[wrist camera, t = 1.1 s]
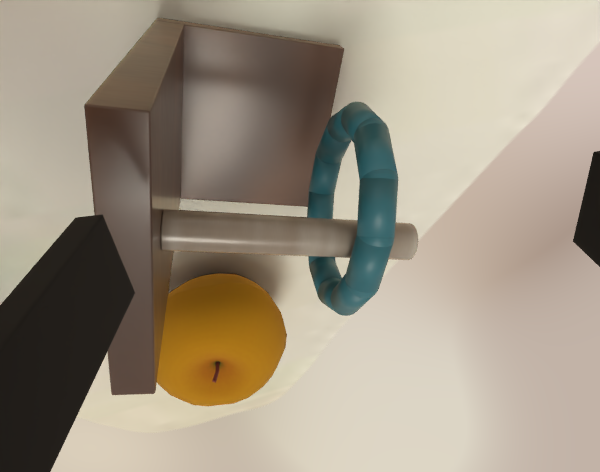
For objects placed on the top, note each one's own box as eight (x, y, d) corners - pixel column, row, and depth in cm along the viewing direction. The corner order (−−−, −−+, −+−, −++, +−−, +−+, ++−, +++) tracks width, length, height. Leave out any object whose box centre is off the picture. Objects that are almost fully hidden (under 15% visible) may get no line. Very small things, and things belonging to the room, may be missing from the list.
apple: (127, 281, 44) (104, 372, 34) (239, 222, 42) (246, 300, 33) (200, 353, 51) (197, 445, 42) (298, 305, 49) (318, 389, 40)
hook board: (158, 189, 39) (111, 395, 21) (157, 17, 32) (83, 104, 14) (319, 200, 42) (400, 386, 24) (351, 47, 35) (499, 148, 17)
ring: (296, 239, 34) (331, 358, 24) (326, 79, 28) (390, 151, 18) (319, 240, 34) (362, 357, 24) (353, 83, 28) (430, 155, 18)
